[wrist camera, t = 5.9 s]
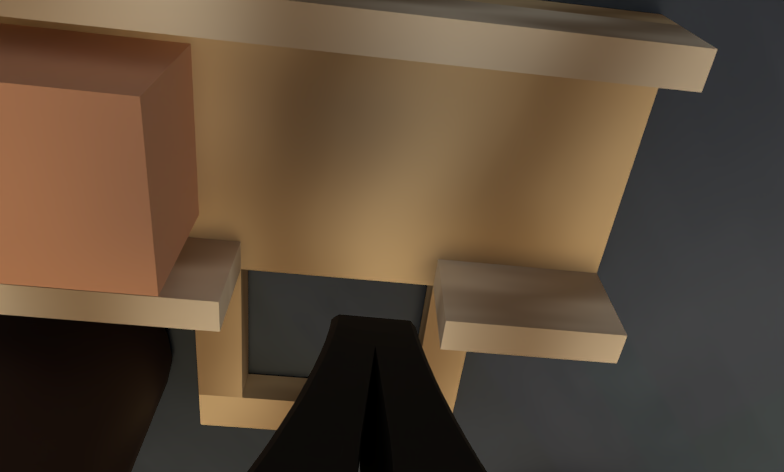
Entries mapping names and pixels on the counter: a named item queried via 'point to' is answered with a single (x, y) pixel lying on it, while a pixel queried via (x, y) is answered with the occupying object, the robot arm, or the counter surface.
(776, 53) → the counter surface
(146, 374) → the vinegar
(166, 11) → the wooden tray
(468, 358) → the counter surface
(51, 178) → the block
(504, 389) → the counter surface
